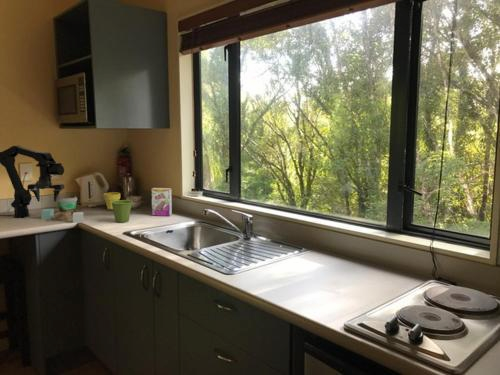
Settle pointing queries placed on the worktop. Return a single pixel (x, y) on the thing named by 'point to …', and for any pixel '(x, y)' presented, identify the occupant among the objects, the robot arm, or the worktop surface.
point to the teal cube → (47, 213)
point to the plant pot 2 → (121, 210)
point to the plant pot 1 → (111, 199)
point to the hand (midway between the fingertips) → (46, 201)
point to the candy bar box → (161, 201)
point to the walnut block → (62, 216)
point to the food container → (67, 205)
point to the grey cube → (78, 217)
